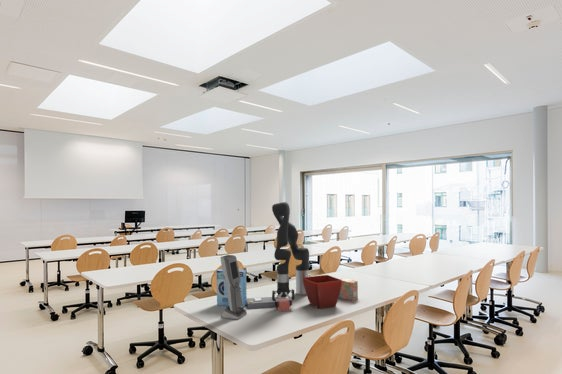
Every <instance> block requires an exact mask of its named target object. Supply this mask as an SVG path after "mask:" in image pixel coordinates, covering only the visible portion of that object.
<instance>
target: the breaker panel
mask: <svg viewBox="0 0 562 374" xmlns="http://www.w3.org/2000/svg"><path fill="white" fill-rule="evenodd" d="M254 298H255V297H250V298H248V297H247V305H246V307H247V309H261V308H274V307H276V306H275V301H273V300H272V296H266V297H265V296H264V297H260V298H261V301H259V302H255V301H254ZM286 298H287V297H280V299H286ZM276 308H277V307H276Z"/></svg>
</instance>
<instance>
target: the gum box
mask: <svg viewBox="0 0 562 374" xmlns="http://www.w3.org/2000/svg"><path fill="white" fill-rule="evenodd" d="M239 273H240V277H241V282H240V284H239V289H240V294H241V299H242V304H243V308H245V307H247V298H248V297H247V296H248V295H247V269H239ZM224 279H225V278H224V274H223V270H222V268H218V269H217V270H216V305H217V306H224V307H225V306H226V307H228V306H229V301H228V295H227V287H226V282H225V281H224Z"/></svg>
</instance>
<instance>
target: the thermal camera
mask: <svg viewBox="0 0 562 374" xmlns="http://www.w3.org/2000/svg"><path fill="white" fill-rule="evenodd" d="M220 263H221V269H222V270H223V274H224V278H225V279H224V281H225V282H226V287H227V295H228V301H229V306H226V308H225V309H224V310H223V312H222V313H221V318H223V319H231V320H237V321H238V320H240V319H241V318H243V317H244V316H246V315H247V314H248V313H247V310H246V309H245V308H244V307H243V304H242V299H241V294H240V289H239V284H240V282H241V277H240V273H239V270H240V269H239V265H238V261H237V257H236V256H235V255H233V254H227V255H224V256H220Z"/></svg>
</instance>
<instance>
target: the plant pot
mask: <svg viewBox="0 0 562 374" xmlns="http://www.w3.org/2000/svg"><path fill="white" fill-rule="evenodd" d="M340 279H341V278H337V277H334V276H332V275H329V274H324V275H313V276H308V277H304V278H303V282H304V287H305V291H306V297H307V299H308V302H309V305H312V306H313V307H315V308H317V309H324V308H330V307H336V306H337V303H338V301H339V298H338V297H339V294H340V289H341V282H342V280H340Z"/></svg>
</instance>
